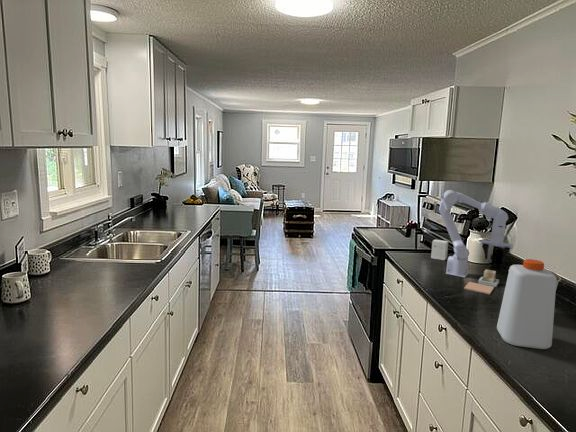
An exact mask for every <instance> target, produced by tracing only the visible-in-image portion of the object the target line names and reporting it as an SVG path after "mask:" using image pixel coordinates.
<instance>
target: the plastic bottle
mask: <svg viewBox="0 0 576 432" xmlns="http://www.w3.org/2000/svg"><path fill="white" fill-rule="evenodd" d="M522 263H523V264H512V265H510V266H509V269H508V270H509V271H508V274H507V279H506V283H505V287H504V293H503V297H502V302H501V306H500V310H499V314H498V319H497V325H496V330H497V331H498V333H499V335H500V336H501V339H502V340H503V341H504V342H506V343H507V344H510V345H512V346H516V347H522V348H523V347H524V348H530V349H538V350H547V349H549V348H551V347H552V345H553V334H554V320H555V319H554V317H555V306H556V304H555V303H556V294H557V293H556V291H557V289H556V280H557V279H556V276H555V275H554V274H553V273H551V272H550V271H551V270H550V271H549V269H547V268H546V267H545V263H544V262H543V261H541V260H537V259H533V258H532V259H531V258H526V259H524V260H523V261H522Z"/></svg>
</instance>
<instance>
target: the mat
mask: <svg viewBox="0 0 576 432" xmlns="http://www.w3.org/2000/svg"><path fill="white" fill-rule="evenodd" d="M463 289H464V290H468V291H471V292H476V293H482V294H486V295H491V294H492V292H493V290H494V289H495V287H494V286H489V285H484V284H479V283H478V282H472V281H468V282H467V284H466V285H465V286H464V287H463Z"/></svg>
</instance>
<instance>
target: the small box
mask: <svg viewBox="0 0 576 432" xmlns="http://www.w3.org/2000/svg"><path fill="white" fill-rule="evenodd" d="M431 242H432V243H431V253H430V254H431V256H430V258H431V259H435V260H441V261H446V260H447V259H448V249H449V248H448V247H449V241H448V240H442V239H433V240H432V241H431Z"/></svg>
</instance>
